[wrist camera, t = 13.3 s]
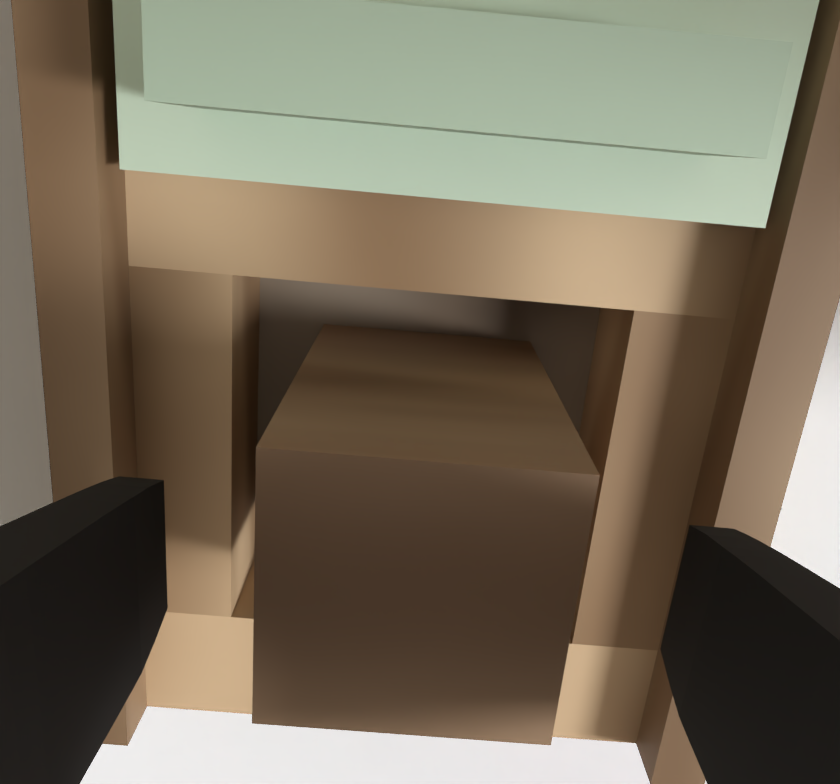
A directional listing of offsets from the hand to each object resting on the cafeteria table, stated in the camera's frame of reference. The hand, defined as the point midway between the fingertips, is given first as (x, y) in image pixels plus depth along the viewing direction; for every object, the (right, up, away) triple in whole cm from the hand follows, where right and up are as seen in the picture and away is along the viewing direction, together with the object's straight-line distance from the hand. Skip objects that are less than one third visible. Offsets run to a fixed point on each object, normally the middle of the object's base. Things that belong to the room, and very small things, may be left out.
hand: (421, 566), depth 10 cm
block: (0, +2, +5) cm, 5 cm away
